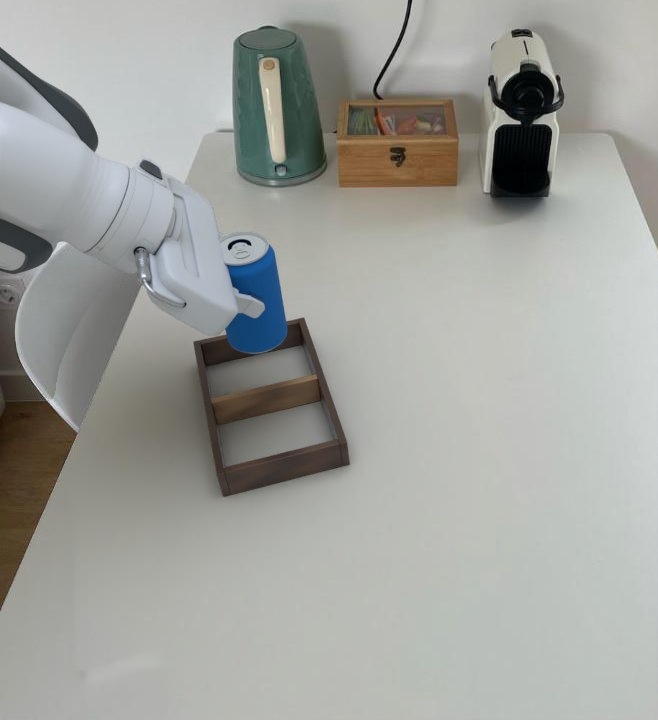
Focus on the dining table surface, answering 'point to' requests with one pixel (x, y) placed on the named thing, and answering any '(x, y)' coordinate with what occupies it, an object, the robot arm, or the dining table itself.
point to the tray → (266, 402)
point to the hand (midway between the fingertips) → (254, 286)
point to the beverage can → (254, 292)
